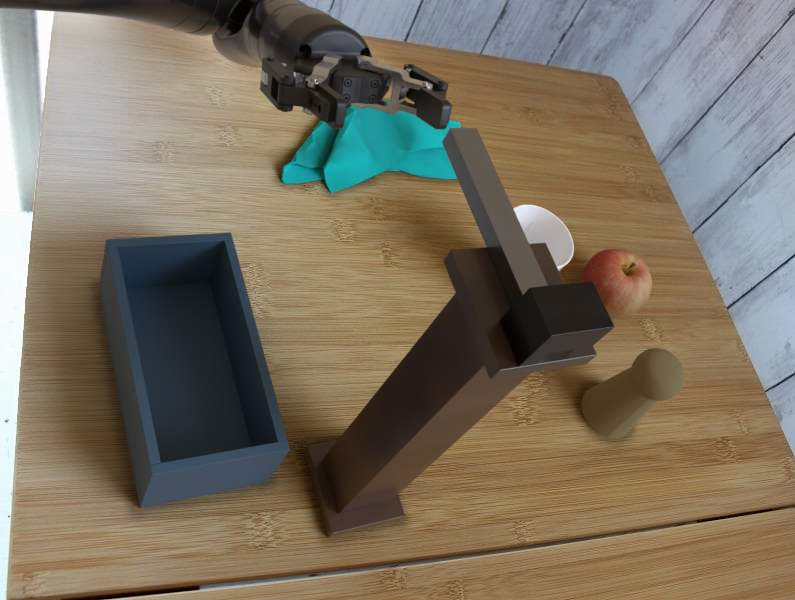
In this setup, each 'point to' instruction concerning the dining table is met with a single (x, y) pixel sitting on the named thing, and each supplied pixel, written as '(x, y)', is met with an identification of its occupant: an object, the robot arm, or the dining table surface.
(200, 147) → the dining table surface
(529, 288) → the grey mallet
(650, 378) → the olive game pawn
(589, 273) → the apple
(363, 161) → the cloth
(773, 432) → the dining table surface
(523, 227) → the white cup
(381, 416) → the stand
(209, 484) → the bin
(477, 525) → the dining table surface
